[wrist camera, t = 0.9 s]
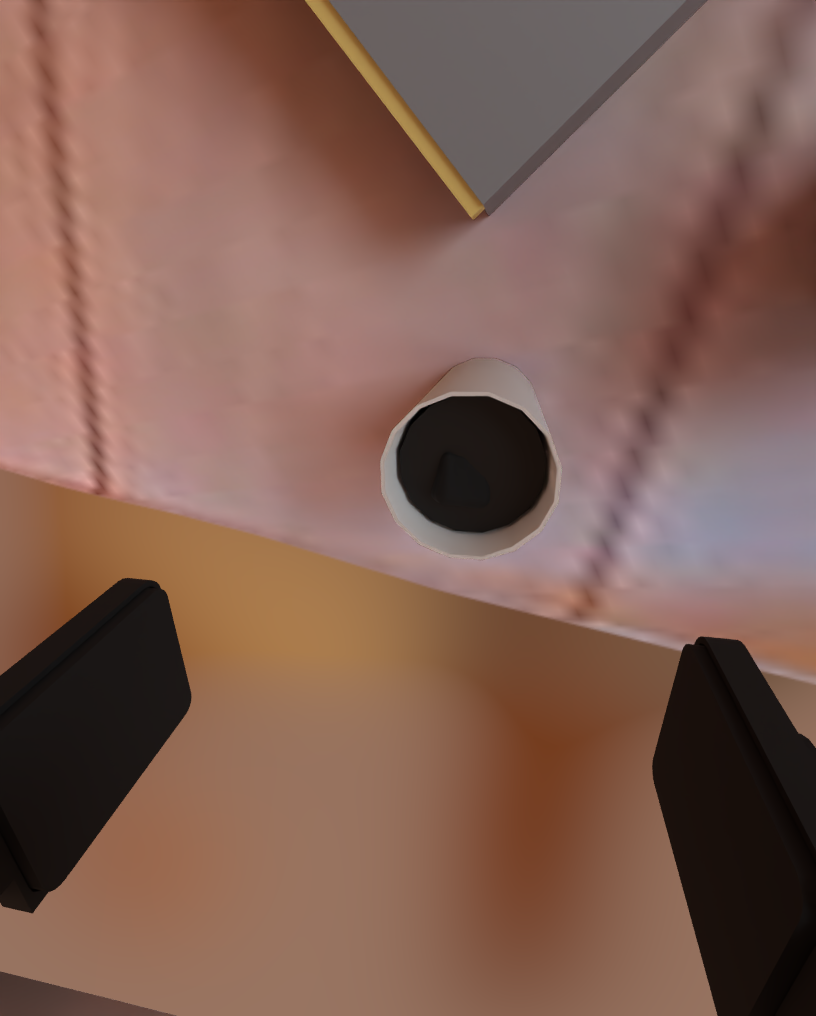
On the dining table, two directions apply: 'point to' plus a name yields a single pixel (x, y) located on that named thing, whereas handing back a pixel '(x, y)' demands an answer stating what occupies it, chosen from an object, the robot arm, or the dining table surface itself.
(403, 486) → the white cup
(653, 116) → the dining table surface
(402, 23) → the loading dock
